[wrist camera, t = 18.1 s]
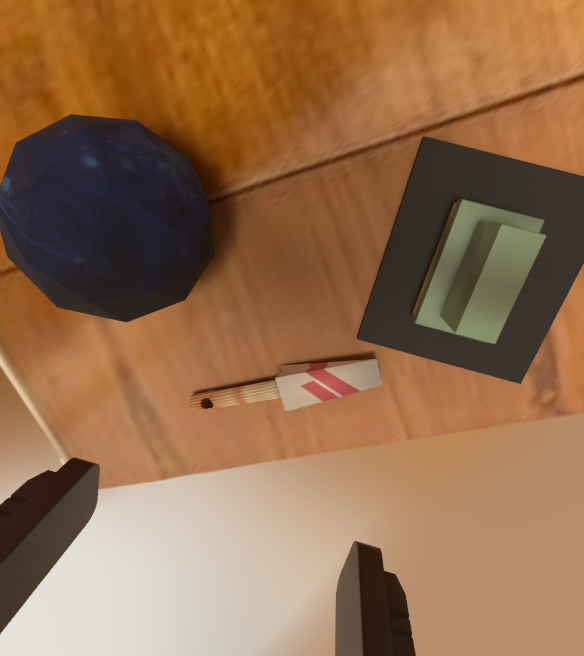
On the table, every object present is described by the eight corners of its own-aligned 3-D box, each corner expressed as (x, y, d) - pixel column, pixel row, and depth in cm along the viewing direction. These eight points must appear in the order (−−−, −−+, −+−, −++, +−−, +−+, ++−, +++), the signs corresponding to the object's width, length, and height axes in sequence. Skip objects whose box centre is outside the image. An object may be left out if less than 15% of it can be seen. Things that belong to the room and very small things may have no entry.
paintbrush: (384, 397, 34) (193, 424, 39) (382, 383, 37) (203, 410, 42) (376, 360, 33) (181, 393, 38) (375, 348, 36) (192, 380, 41)
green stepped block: (452, 199, 31) (484, 198, 24) (528, 218, 30) (582, 223, 24) (409, 314, 34) (426, 342, 27) (477, 332, 34) (511, 365, 27)
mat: (422, 137, 30) (424, 136, 29) (618, 186, 29) (624, 186, 29) (356, 337, 36) (357, 339, 36) (517, 381, 36) (520, 384, 35)
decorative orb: (-1, 104, 28) (-126, 240, 20) (181, 53, 25) (128, 185, 17) (113, 242, 40) (65, 366, 31) (246, 217, 37) (234, 344, 28)
